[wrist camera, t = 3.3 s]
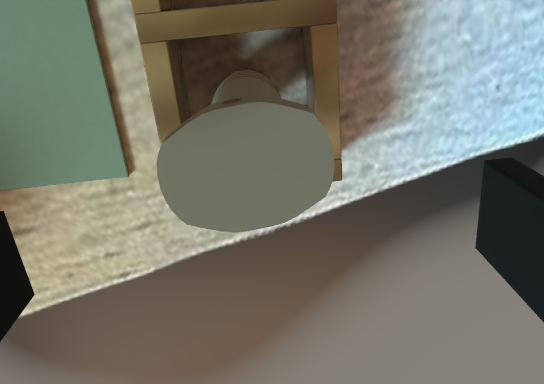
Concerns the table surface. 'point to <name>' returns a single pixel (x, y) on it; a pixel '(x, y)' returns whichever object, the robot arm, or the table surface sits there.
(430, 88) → the table surface
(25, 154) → the mat
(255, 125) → the handle
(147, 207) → the table surface
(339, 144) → the rack
